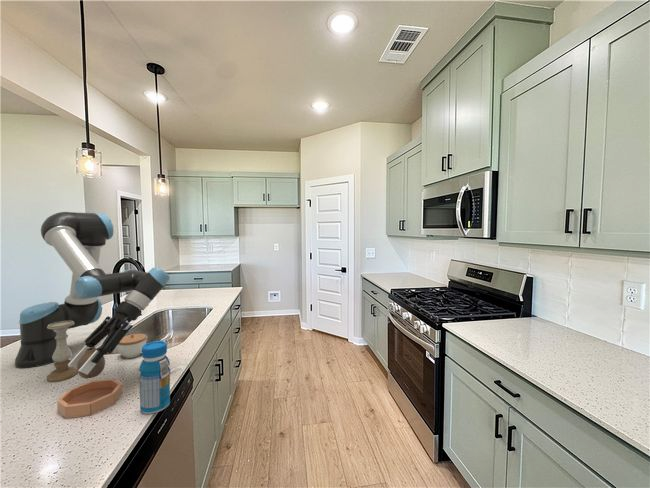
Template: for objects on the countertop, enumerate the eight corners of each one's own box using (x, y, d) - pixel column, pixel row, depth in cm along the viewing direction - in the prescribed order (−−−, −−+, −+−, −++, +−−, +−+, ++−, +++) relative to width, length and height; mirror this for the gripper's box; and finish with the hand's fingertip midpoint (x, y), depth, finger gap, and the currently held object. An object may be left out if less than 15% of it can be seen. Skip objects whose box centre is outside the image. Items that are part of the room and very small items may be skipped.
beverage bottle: (140, 419, 83) (139, 352, 82) (138, 404, 90) (137, 343, 89) (172, 408, 88) (171, 346, 87) (168, 395, 95) (167, 337, 94)
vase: (82, 383, 86) (81, 355, 86) (74, 377, 90) (73, 350, 89) (109, 373, 92) (108, 347, 91) (100, 368, 96) (99, 342, 95)
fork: (142, 388, 101) (142, 383, 101) (185, 362, 120) (185, 358, 120) (149, 389, 100) (148, 384, 100) (191, 363, 119) (191, 359, 119)
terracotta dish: (51, 407, 88) (51, 396, 88) (107, 384, 101) (107, 375, 101) (72, 423, 81) (71, 411, 81) (129, 397, 94) (129, 387, 94)
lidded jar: (132, 361, 119) (131, 339, 119) (111, 359, 122) (110, 337, 121) (152, 351, 130) (152, 331, 129) (132, 349, 132) (132, 329, 132)
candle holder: (39, 381, 103) (37, 327, 102) (62, 370, 112) (61, 319, 111) (62, 382, 103) (60, 327, 102) (84, 370, 111) (82, 320, 110)
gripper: (156, 315, 99) (103, 382, 85) (126, 307, 108) (74, 366, 95) (140, 303, 94) (80, 373, 80) (110, 296, 103) (53, 357, 90)
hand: (77, 369), depth 88 cm, fingers closed on vase, 7 cm apart
